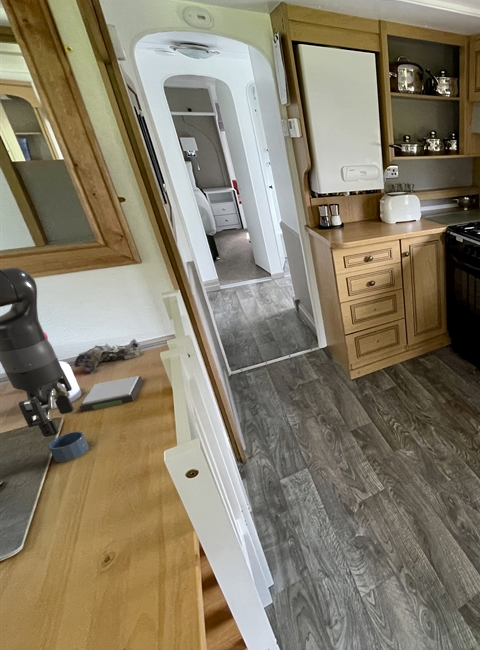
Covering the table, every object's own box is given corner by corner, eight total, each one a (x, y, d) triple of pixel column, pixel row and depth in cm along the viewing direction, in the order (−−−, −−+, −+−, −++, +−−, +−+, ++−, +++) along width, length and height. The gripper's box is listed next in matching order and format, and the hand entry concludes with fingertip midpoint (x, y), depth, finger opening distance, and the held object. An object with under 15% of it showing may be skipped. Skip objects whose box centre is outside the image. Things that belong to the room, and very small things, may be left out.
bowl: (51, 467, 85) (43, 452, 84) (62, 450, 90) (54, 435, 88) (84, 459, 88) (77, 444, 86) (93, 443, 92) (87, 428, 91)
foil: (145, 353, 126) (85, 342, 116) (130, 381, 127) (69, 373, 116) (144, 338, 135) (88, 327, 124) (130, 365, 135) (73, 356, 124)
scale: (82, 414, 102) (78, 405, 101) (96, 391, 111) (93, 383, 110) (133, 403, 107) (130, 394, 106) (143, 382, 116) (140, 374, 115)
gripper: (22, 350, 84) (51, 410, 90) (-15, 383, 72) (21, 449, 78) (68, 343, 87) (92, 401, 93) (39, 374, 75) (69, 437, 81)
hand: (60, 423), depth 86 cm, fingers open, 8 cm apart
